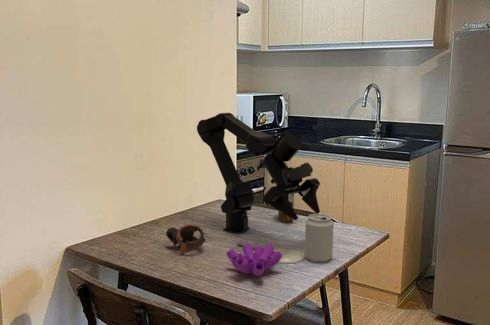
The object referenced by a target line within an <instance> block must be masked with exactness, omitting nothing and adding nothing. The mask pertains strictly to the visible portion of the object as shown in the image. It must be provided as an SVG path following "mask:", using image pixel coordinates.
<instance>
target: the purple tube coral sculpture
mask: <svg viewBox="0 0 490 325" xmlns="http://www.w3.org/2000/svg"><path fill="white" fill-rule="evenodd" d="M251 245H252V244H251V243H244V245H243V247H242V252H239V253H238V252H237V251H236V249H234V248H233V247H232V248H231V249H229V250H228V251H227V252H225V254H226V256H227V257H228V260H230V263H231V264H232V266H233V267H234V268H235V269H236V270H238V271H240V272H242V273H245V274H250V275H251V274H252V275H254V276H257V277H260V276H261V275H263V274H264V272H265V271H267V270H269V269H271V268H273V267H275V266H276V265H277V264H279V263H278V262H279V261H280V259H281V258H282V256H283V255H282V254H281V253H280V252H278V251H276V252H275V251H274V250H275V247H274V246H275V245H274V246H273V245H272V244H269V243H267V244H265V246H264V247H263V245H257V244H256V245H255V246H256V247H255V250H254V249H252V246H253V245H252V246H251ZM263 248H264V250H263Z"/></svg>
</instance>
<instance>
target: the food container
mask: <svg viewBox="0 0 490 325" xmlns="http://www.w3.org/2000/svg"><path fill="white" fill-rule="evenodd" d="M288 198H289V202H290V204H291V205H292V207H293V209H294V210H295V194H291V195H288ZM277 212H278V221H279V222H280V223H283V224H284V223H285V224H289V225H290V224H291V225H292V224H294V223H293V222H294V219H292V218H291V217H289V216H288V215H286V214H285V213H283V212H281V211H279V210H277Z"/></svg>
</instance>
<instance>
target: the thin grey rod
mask: <svg viewBox="0 0 490 325" xmlns="http://www.w3.org/2000/svg"><path fill="white" fill-rule="evenodd" d="M244 244H245V243H244V242H239V241H238V242H237V243H236V245H237V246H238V247H242V248H243V245H244ZM251 246H252V249H253V251H255V247H256V245H252V244H251ZM264 248H265V247H263V250H264Z"/></svg>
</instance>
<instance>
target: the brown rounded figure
mask: <svg viewBox="0 0 490 325" xmlns="http://www.w3.org/2000/svg"><path fill="white" fill-rule="evenodd" d="M195 232H199V234H200V236H199V238H198V237H196V236H194V234H195ZM165 235H166V238H167V239H168V240H169V241H171V242H172V245H173V246H174V247H176V246H177V245H179V246H180V247H179V248H180V249H179V254H181V255H184V256H185V255H186V253H189V252H192V251H196V250H199V249H200V247H202V246H203V245H204V243H207V241H206V239H205V236H204V235H205V234H204V231H203V229H202V228H201V227H199V226H197V225H195V224H184V225H182V226H181V227H179V229H178V228H175V227H169V228H167V229H166V233H165Z"/></svg>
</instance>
